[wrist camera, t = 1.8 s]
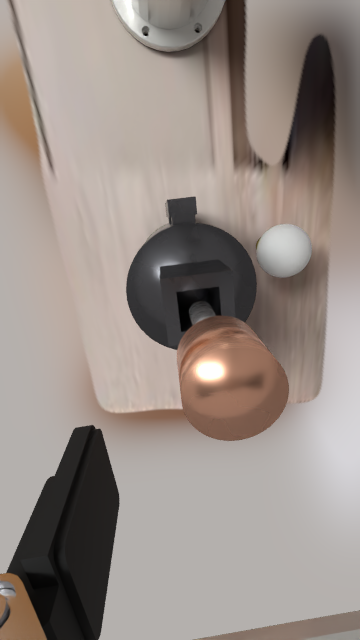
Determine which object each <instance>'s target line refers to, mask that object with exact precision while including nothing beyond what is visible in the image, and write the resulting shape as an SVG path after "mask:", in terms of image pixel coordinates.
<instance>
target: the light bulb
mask: <svg viewBox="0 0 360 640" xmlns="http://www.w3.org/2000/svg"><path fill="white" fill-rule="evenodd" d="M256 250H257V259H258V262H259V264H260V266H261V268H262V269H263V270H264V271H265V272H267V273H268V274H270V275H272V276H275V277H281V278H284V277H290V276H293V275H295V274H297V273H299V272H300V271H301V270H303V269H304V268H305V266H306V265H307V264H308V262H309V260H310V257H311V253H312V245H311V241H310V238H309V236H308V235H307V233H306V232H305V231H304V230H302V229H301V228H300V227H298V226H295V225H292V224H280V225H277V226H274V227H272V228H270V229H269V230H268V231H266V232H265V233H264V234H263V236H262V237H261V238H260V239H259V240H258V241H257V244H256Z"/></svg>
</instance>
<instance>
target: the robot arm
mask: <svg viewBox="0 0 360 640" xmlns="http://www.w3.org/2000/svg"><path fill="white" fill-rule="evenodd" d="M111 2H112V5H113V8H114V10H115V12H116V14H117V16H118V18H119V19H120V21H121V22H122V24H123V25H124V27H125V28H126V29H127V30H128V31H129V32H130V33H131V34H132V35H133V36H134V37H135V38H136V39H137V40H138V41H140V42H141V43H143V44H144V45H146V46H148V47H151V48H153V49H155V50H160V51H166V52H171V51H180V50H183V49H186V48H189V47H191V46H193V45H195V44H196V43H198V42H199V41H200V40H202V39H203V38H204V37H205V36H206V35H207V34H208V33H209V32H210V30H211V29H212V28H213V26H214V25H215V23H216V22H217V20H218V18H219V16H220V14H221V12H222V8H223V6H224V3H225V0H111ZM195 30H198V31H199V33H196V32H195ZM145 33H147V34H148V36H144V34H145ZM118 510H119V493H118V489H117V485H116V481H115V478H114V474H113V471H112V468H111V464H110V460H109V456H108V453H107V449H106V446H105V442H104V438H103V434H102V431H101V429H95V427H94V426H93V425H90V426H85V427H78V428H75V429H74V430H73V433H72V435H71V437H70V440H69V442H68V445H67V447H66V450H65V452H64V454H63V457H62V459H61V462H60V464H59V467H58V469H57V472H56V474H55V476H52V477H50V478H49V479H48V480H47V481H46V483H45V485H44V488H43V490H42V492H41V495H40V497H39V499H38V501H37V504H36V506H35V508H34V511H33V513H32V515H31V517H30V520H29V522H28V524H27V526H26V529H25V531H24V533H23V536H22V538H21V540H20V543H19V545H18V547H17V549H16V552H15V554H14V556H13V559H12V561H11V563H10V566H9V568H8V570H7V573H3V574H0V640H98V639H99V637H100V633H101V628H102V620H103V614H104V607H105V600H106V593H107V586H108V578H109V572H110V565H111V558H112V551H113V544H114V537H115V530H116V523H117V516H118ZM194 640H360V610H359V611H353V612H348V613H342V614H336V615H330V616H325V617H319V618H314V619H307V620H302V621H296V622H290V623H284V624H279V625H273V626H267V627H262V628H256V629H251V630H246V631H239V632H234V633H228V634H222V635H218V636H211V637H206V638H200V639H194Z"/></svg>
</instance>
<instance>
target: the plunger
mask: <svg viewBox="0 0 360 640" xmlns="http://www.w3.org/2000/svg"><path fill="white" fill-rule="evenodd" d="M189 315H190V319H191V322H192V325H193V326H192V327H190V328H189V329H188V330H187V332H186V333H185V334H184V335H183V337H182V339H181V341H180V343H179V346H178V350H177V364H178V373H179V382H180V391H181V399H182V406H183V410H184V413H185V415H186V417H187V419H188V420H189V422H190V423H191V424H192V425H193V426H194V427H195V428H196V429H197V430H198V431H199V432H201V433H203V434H204V435H206V436H209V437H211V438H215V439H218V440H226V441H234V440H242V439H246V438H249V437H253V436H255V435H257V434H259V433H261V432H263V431H264V430H266V429H267V428H268V427H270V426H271V425H272V424H273V423H274V422H275V421H276V420H277V419H278V418H279V416H280V415H281V413H282V412H283V410H284V408H285V405H286V403H287V399H288V393H289V385H288V379H287V376H286V373H285V371H284V370H283V368H282V366H281V365H280V364H279V362H278V361H277V360H276V359H275V357H274V356H273V355H272V354H271V352H270V351H269V350H268V349H267V347H266V346H265V345H264V344H263V342H262V341H261V340H260V339H259V337H258V336H257V335H256V334H255V332H254V331H253V330H252V329H251V328H250V327H249V326H248V325H247V324H246V323H244V322H243V321H241V320H239V319H237V318H234V317H229V316H216V315H215V313H214V311H213V309H212V307H211V306H210V304H209V303H207V302H205V301H197V302H195V303H193V304H192V305H191V307H190V309H189Z"/></svg>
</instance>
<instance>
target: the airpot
mask: <svg viewBox="0 0 360 640" xmlns="http://www.w3.org/2000/svg"><path fill="white" fill-rule="evenodd" d="M165 207H166V215H167V217H168V218H169V224H166V225H164V226H162V227H160V228H158V229H157V230H156V231H154V232H153V233H152V234H151V235H150V237H149V238H148V239H147V241H146V242H145V244H144V245H143V246H142V247H141V248H140V250H139V251H138V253H137V254H136V256H135V258H134V260H133V262H132V264H131V266H130V269H129V273H128V277H127V287H126V292H127V301H128V305H129V308H130V311H131V313H132V316H133V318H134V319H135V321H136V323H137V324H138V325H139V327H140V328H141V329H142V330H143V331H144V332H145V333H146V335H148V336H149V337H150V338H151V339H153V340H154V341H156V342H158V343H159V344H161V345H164V346H166V347H169V348H172V349H176V350H178V346H179V343H180V341H181V339H182V337H183V335H184V334H185V333H186V332H187V330H188V329H189V328H190V327H192V326H193V325H192V322H191V319H190V315H189V309H190V307H191V305H192V304H193V303H195V302H197V301H205V302H207V303H209V304H210V306H211V307H212V309H213V311H214V313H215V315H216V316H229V317H234V318H237V319H239V320H241V321H243V322H244V323H245V321H246V320H247V318H248V316H249V314H250V312H251V310H252V308H253V304H254V301H255V296H256V285H257V283H256V274H255V270H254V266H253V264H252V261H251V259H250V257H249V255H248V253H247V251H246V250H245V249H244V248H243V246H242V245H241V244H240V243H239V242H238V241H237V240H236V239H235V238H234V237H232V236H231V235H230V234H228V233H227V232H225V231H223V230H221V229H219V228H216V227H214V226H210V225H206V224H201V223H196V221H195V214H197V208H196V197H188V198H179V199H171V200H167V201H166V203H165Z"/></svg>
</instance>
